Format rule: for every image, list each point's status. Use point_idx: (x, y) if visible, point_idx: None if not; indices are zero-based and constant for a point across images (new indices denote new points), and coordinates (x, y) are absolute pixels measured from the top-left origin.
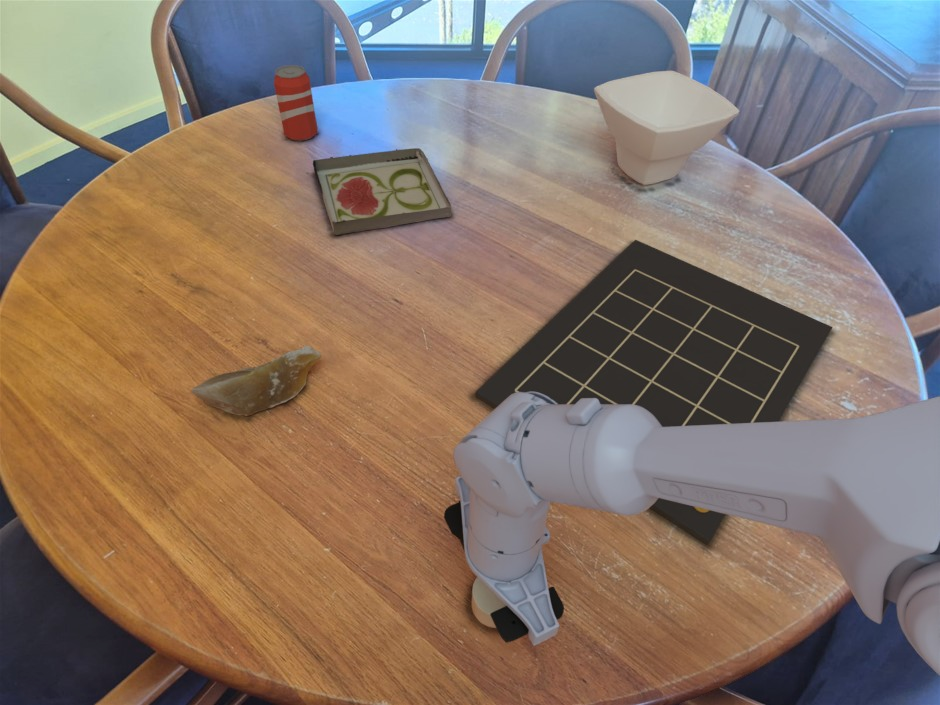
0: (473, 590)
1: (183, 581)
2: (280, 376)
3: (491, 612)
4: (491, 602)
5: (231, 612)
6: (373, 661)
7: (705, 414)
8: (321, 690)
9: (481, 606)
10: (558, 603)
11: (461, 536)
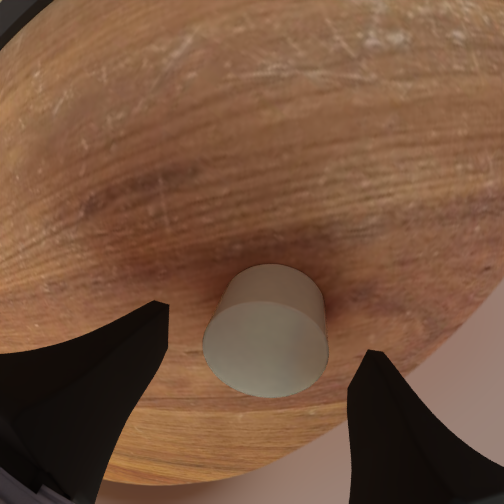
0: (230, 386)
1: None
2: None
3: (297, 389)
4: (279, 378)
5: (126, 466)
6: (235, 449)
7: None
8: (231, 476)
9: (272, 395)
10: (497, 501)
11: (101, 471)
